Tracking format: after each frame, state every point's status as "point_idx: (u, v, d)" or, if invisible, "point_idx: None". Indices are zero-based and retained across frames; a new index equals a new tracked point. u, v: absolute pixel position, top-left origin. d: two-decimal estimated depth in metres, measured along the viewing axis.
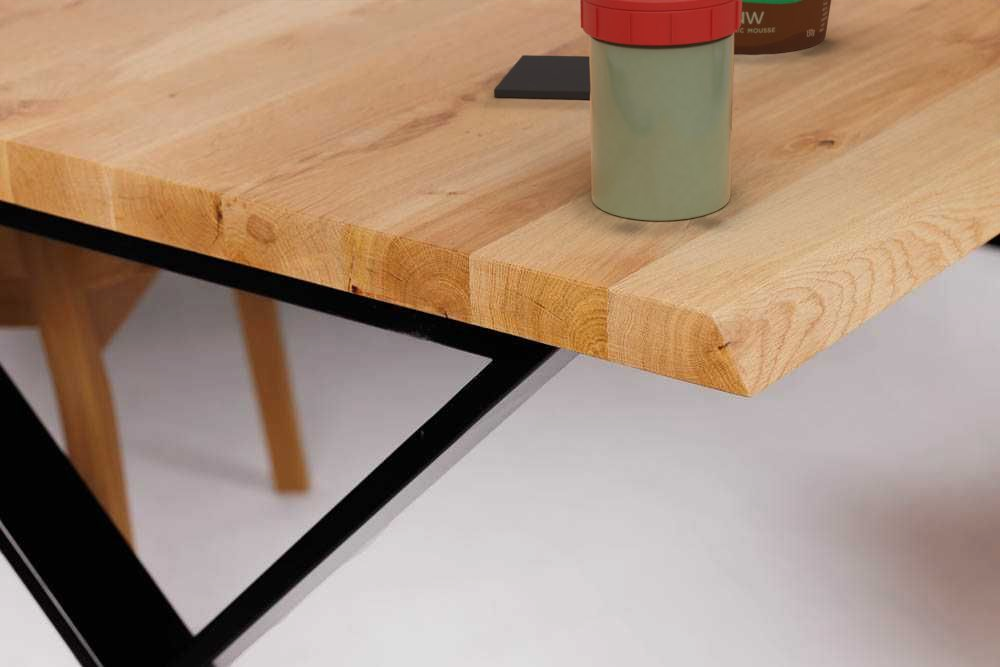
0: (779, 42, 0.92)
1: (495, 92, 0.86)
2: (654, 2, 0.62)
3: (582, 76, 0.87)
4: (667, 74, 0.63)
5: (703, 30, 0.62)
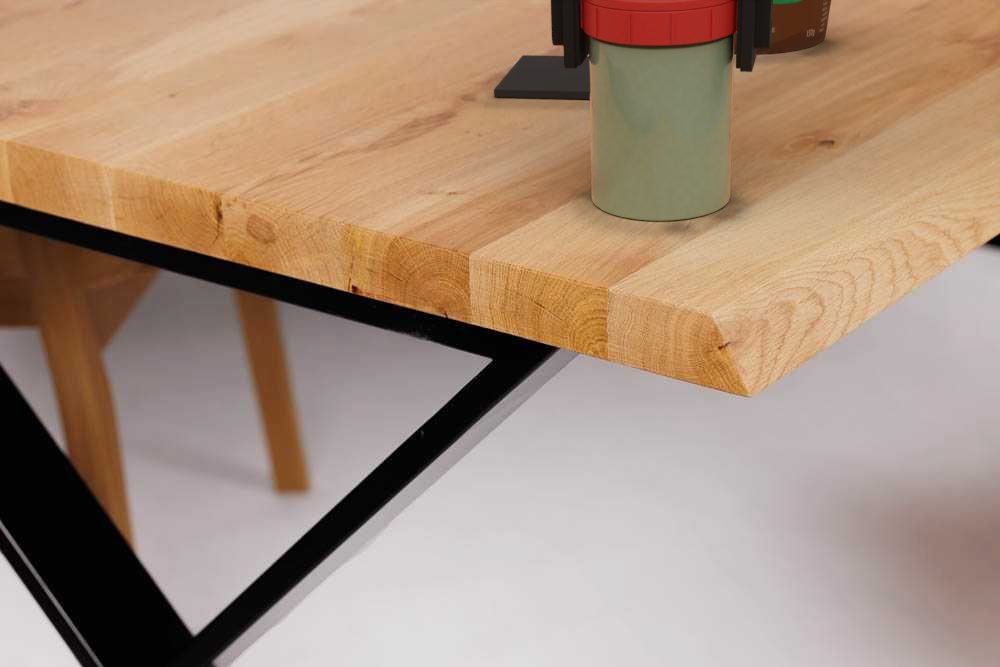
0: (779, 42, 0.92)
1: (495, 92, 0.86)
2: (654, 2, 0.62)
3: (582, 76, 0.87)
4: (667, 74, 0.63)
5: (703, 30, 0.62)
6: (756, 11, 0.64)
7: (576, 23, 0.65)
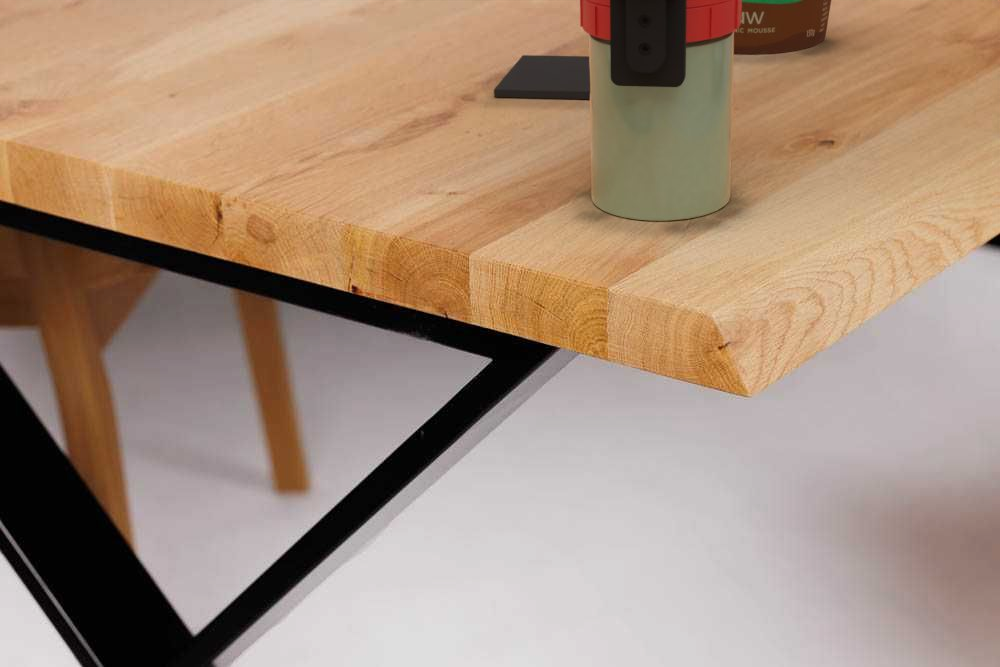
0: (779, 42, 0.92)
1: (495, 92, 0.86)
2: None
3: (582, 76, 0.87)
4: None
5: None
6: None
7: None
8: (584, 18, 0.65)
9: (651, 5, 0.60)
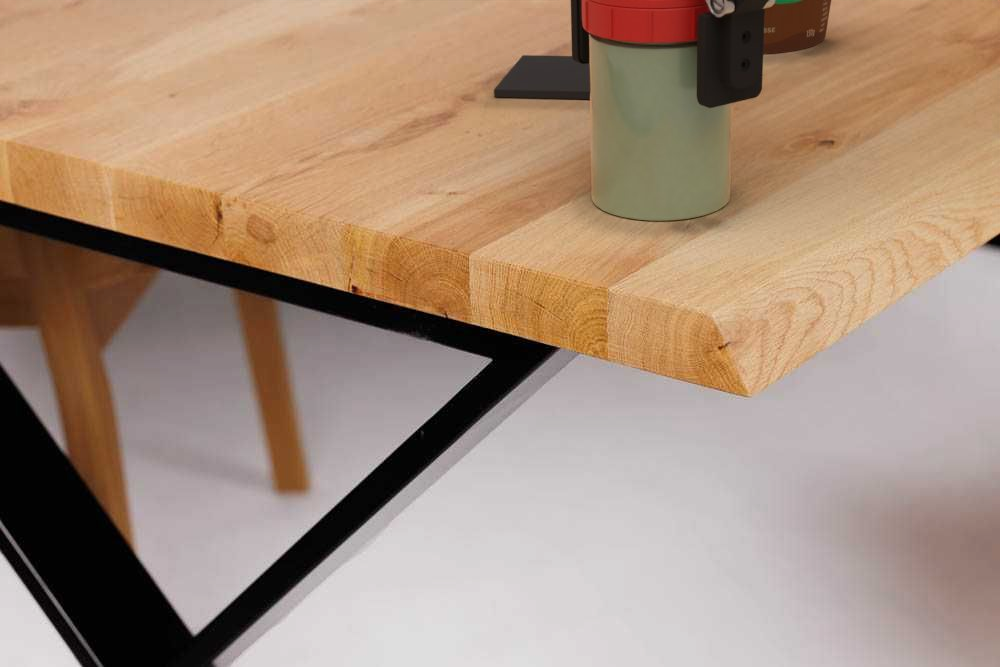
0: (779, 42, 0.92)
1: (495, 92, 0.86)
2: None
3: (582, 76, 0.87)
4: (667, 74, 0.63)
5: None
6: None
7: None
8: (623, 27, 0.63)
9: (751, 20, 0.61)
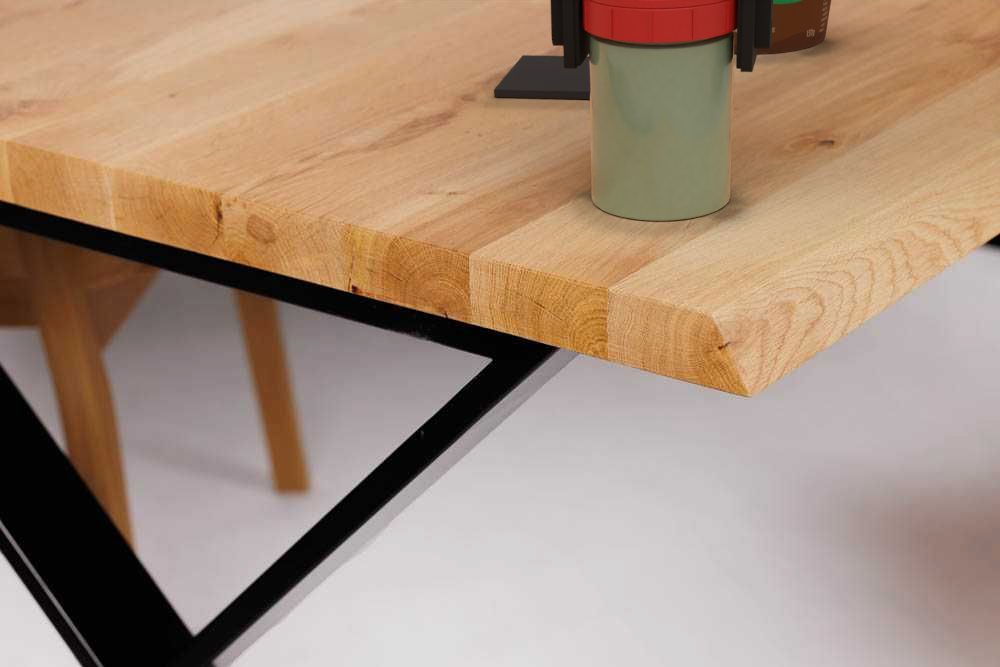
0: (779, 42, 0.92)
1: (495, 92, 0.86)
2: None
3: (582, 76, 0.87)
4: (667, 74, 0.63)
5: None
6: (756, 11, 0.64)
7: (576, 23, 0.65)
8: (623, 28, 0.63)
9: None
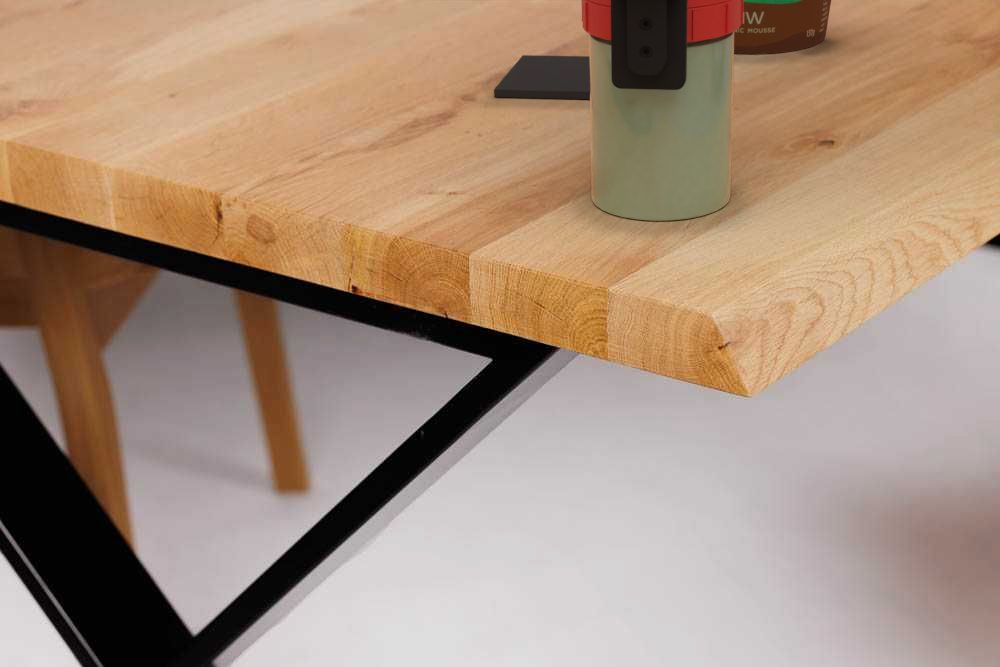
0: (779, 42, 0.92)
1: (495, 92, 0.86)
2: None
3: (582, 76, 0.87)
4: None
5: None
6: None
7: None
8: (733, 18, 0.63)
9: (652, 8, 0.60)
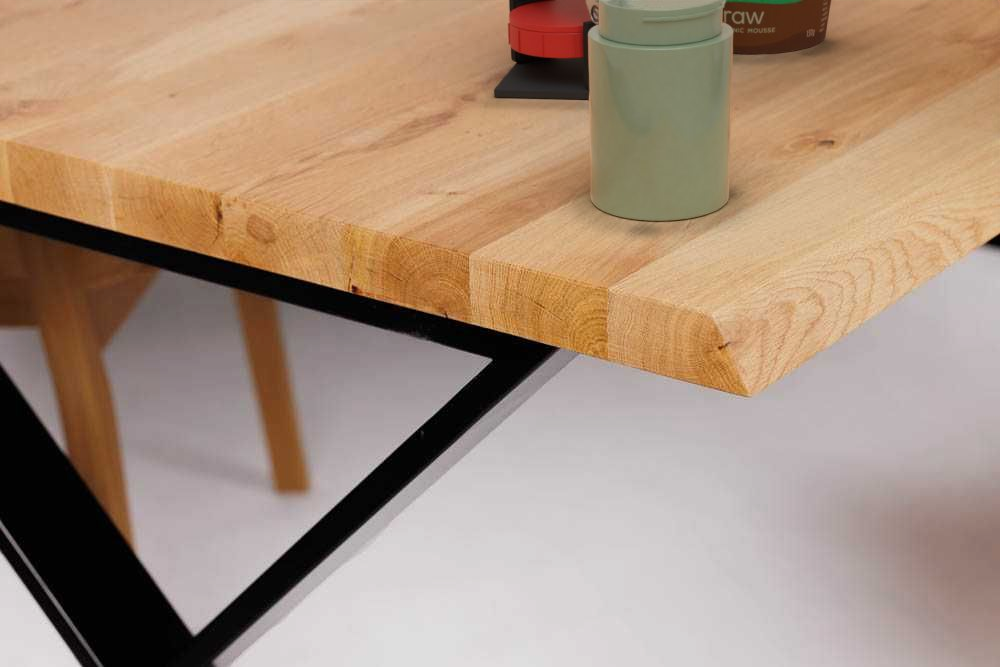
0: (779, 42, 0.92)
1: (495, 92, 0.86)
2: (510, 12, 0.87)
3: (582, 76, 0.87)
4: (666, 74, 0.63)
5: (515, 42, 0.86)
6: None
7: None
8: None
9: None
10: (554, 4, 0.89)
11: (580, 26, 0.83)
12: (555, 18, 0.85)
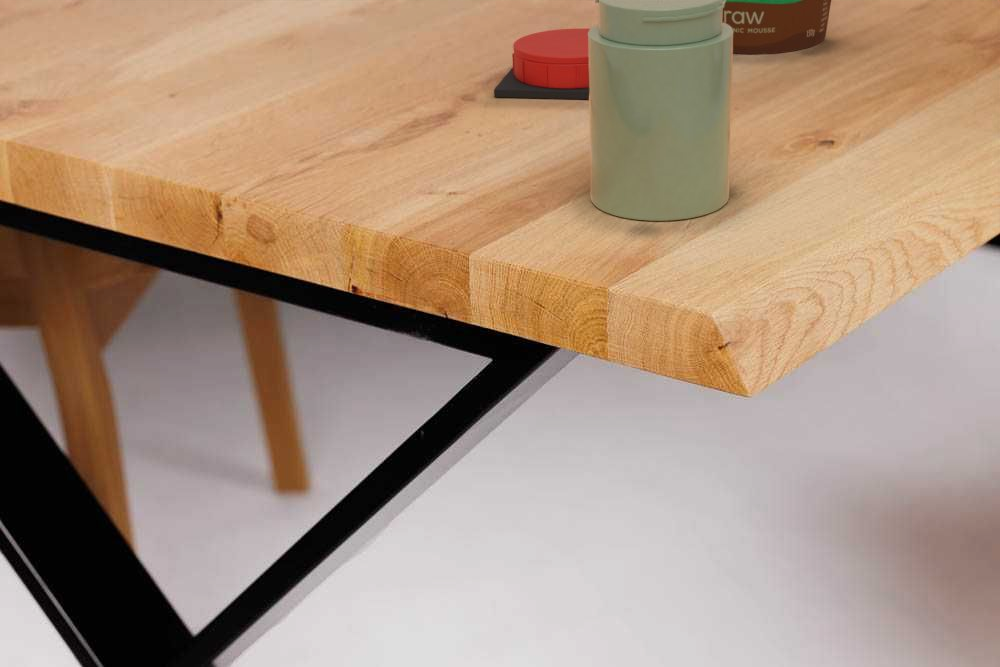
0: (779, 42, 0.92)
1: (495, 92, 0.86)
2: None
3: None
4: (666, 74, 0.63)
5: (519, 73, 0.87)
6: None
7: None
8: None
9: None
10: (558, 34, 0.89)
11: (584, 57, 0.84)
12: (559, 49, 0.86)
